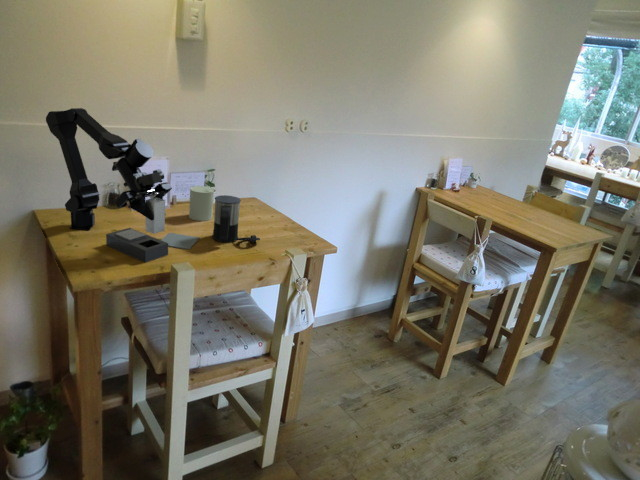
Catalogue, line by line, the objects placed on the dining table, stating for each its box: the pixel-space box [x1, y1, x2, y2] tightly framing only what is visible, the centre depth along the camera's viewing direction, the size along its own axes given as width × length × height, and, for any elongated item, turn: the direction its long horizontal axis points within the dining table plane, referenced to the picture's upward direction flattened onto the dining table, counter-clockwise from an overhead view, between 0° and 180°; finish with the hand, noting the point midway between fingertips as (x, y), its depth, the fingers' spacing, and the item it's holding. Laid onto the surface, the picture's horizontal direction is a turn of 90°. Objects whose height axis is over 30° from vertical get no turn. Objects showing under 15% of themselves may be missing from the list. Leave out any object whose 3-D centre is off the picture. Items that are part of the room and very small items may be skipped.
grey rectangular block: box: [145, 198, 166, 235], centre depth 151 cm, size 4×4×10 cm
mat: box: [160, 232, 200, 250], centre depth 167 cm, size 11×11×1 cm
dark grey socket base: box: [105, 227, 169, 264], centre depth 155 cm, size 18×9×5 cm, turn 59°
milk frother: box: [211, 194, 261, 243], centre depth 172 cm, size 14×16×15 cm
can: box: [188, 185, 215, 222], centre depth 191 cm, size 9×9×12 cm
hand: (158, 218), depth 151 cm, fingers closed on grey rectangular block, 4 cm apart
